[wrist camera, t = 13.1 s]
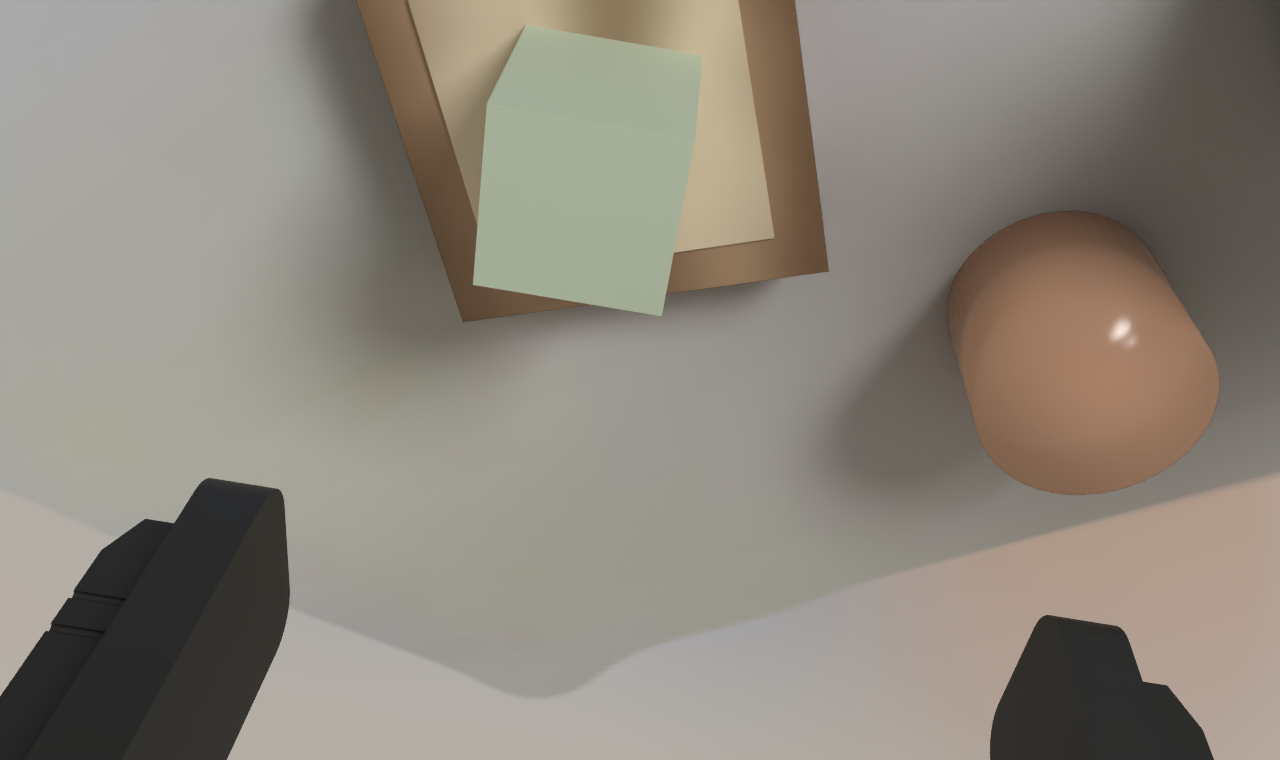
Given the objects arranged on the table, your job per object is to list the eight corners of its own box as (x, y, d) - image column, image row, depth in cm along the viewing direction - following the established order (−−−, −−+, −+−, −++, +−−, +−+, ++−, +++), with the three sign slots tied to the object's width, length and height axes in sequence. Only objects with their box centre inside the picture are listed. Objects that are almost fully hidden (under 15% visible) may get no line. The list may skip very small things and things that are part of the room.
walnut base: (774, -157, 32) (777, -135, 30) (823, 227, 39) (829, 273, 36) (369, -74, 34) (338, -47, 32) (480, 277, 41) (462, 324, 38)
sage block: (702, 55, 32) (695, 139, 28) (673, 214, 35) (661, 316, 30) (526, 24, 32) (486, 103, 27) (510, 186, 35) (472, 284, 30)
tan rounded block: (1194, 230, 38) (1261, 326, 33) (1112, 401, 42) (1161, 510, 37) (984, 194, 38) (1020, 285, 33) (922, 369, 42) (946, 475, 37)
